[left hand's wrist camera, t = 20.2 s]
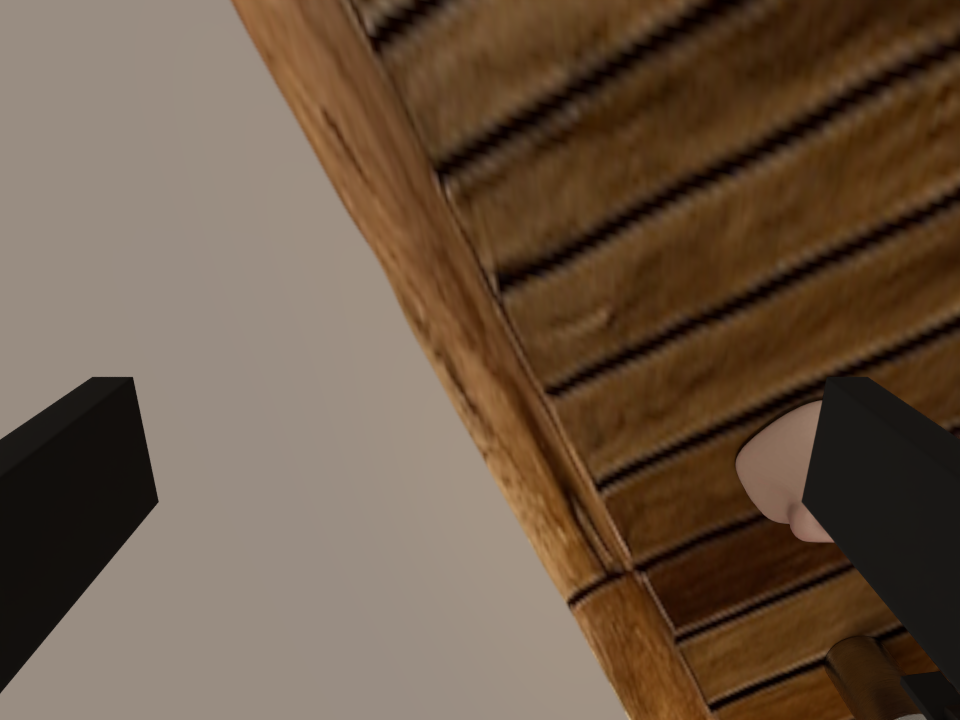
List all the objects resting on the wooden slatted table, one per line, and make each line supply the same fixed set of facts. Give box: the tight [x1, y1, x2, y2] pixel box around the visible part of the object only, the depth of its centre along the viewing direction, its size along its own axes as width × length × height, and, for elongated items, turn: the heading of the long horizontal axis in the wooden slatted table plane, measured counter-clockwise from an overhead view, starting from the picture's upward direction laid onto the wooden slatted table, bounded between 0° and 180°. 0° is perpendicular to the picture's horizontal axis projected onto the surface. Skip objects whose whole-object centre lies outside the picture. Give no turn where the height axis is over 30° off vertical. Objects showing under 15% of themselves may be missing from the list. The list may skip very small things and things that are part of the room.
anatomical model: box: [736, 400, 834, 542], centre depth 47 cm, size 13×4×12 cm
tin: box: [824, 636, 927, 720], centre depth 52 cm, size 5×5×8 cm
